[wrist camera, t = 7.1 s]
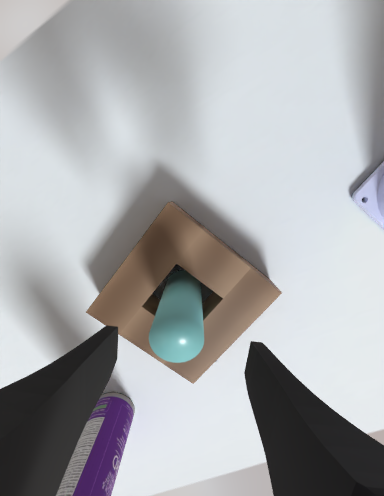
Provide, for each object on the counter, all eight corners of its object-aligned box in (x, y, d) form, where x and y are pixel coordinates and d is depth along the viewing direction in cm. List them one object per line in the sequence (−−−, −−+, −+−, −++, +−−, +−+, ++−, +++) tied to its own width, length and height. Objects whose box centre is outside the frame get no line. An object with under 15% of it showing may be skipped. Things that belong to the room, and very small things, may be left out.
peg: (203, 272, 21) (208, 318, 13) (198, 305, 22) (199, 365, 14) (168, 267, 21) (151, 310, 13) (164, 300, 22) (146, 358, 14)
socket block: (269, 279, 21) (281, 292, 18) (193, 360, 23) (193, 383, 20) (172, 201, 19) (168, 202, 16) (100, 296, 22) (85, 312, 19)
